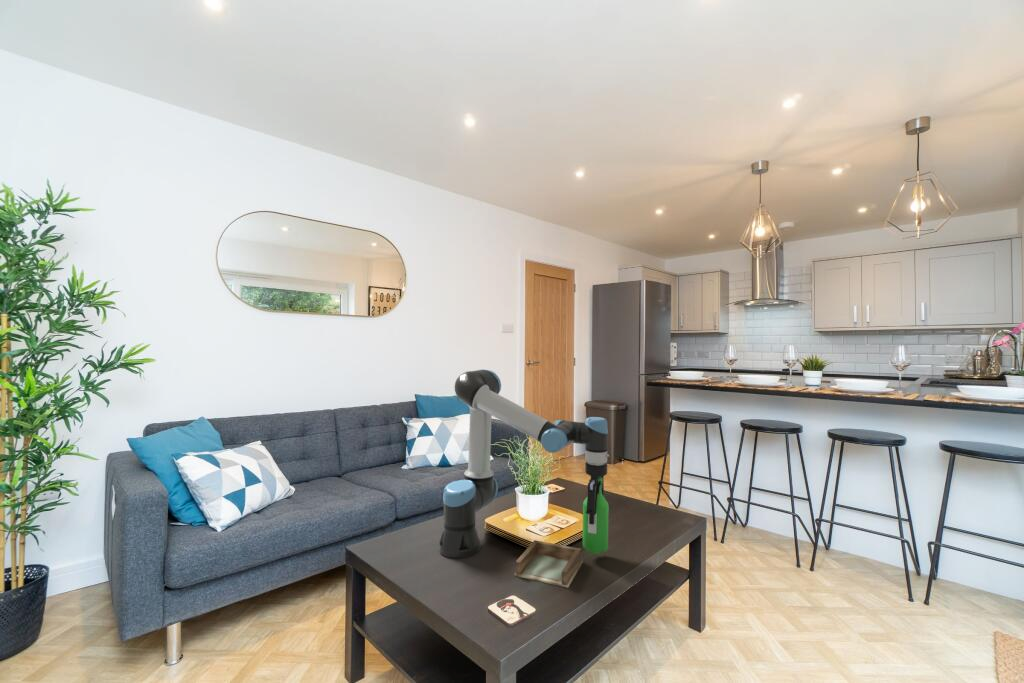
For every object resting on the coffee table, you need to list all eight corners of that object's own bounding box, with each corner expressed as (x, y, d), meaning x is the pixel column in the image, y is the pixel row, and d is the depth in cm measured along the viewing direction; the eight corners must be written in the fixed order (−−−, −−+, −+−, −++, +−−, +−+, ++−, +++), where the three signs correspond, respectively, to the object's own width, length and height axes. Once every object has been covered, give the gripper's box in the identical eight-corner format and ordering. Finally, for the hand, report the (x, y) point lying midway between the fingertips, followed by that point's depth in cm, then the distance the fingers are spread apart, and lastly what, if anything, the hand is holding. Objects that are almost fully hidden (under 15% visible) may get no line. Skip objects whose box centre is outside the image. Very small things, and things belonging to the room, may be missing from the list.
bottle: (608, 556, 148) (609, 481, 148) (582, 553, 150) (582, 479, 150) (607, 544, 157) (608, 474, 157) (583, 541, 159) (584, 472, 159)
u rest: (514, 575, 143) (514, 561, 143) (533, 552, 158) (533, 539, 158) (568, 587, 135) (567, 572, 135) (582, 562, 151) (582, 549, 151)
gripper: (600, 472, 142) (599, 542, 142) (613, 456, 162) (612, 518, 162) (577, 469, 145) (576, 537, 145) (593, 454, 165) (592, 514, 165)
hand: (595, 527), depth 153 cm, fingers closed on bottle, 9 cm apart
